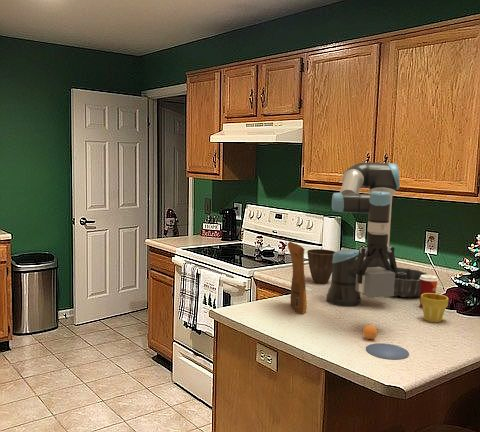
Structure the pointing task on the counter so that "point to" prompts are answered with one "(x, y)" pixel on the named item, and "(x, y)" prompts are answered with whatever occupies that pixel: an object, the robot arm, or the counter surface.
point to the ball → (370, 332)
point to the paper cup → (427, 285)
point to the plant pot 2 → (433, 306)
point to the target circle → (387, 351)
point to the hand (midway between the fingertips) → (374, 291)
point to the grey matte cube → (377, 282)
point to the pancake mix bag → (298, 279)
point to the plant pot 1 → (320, 264)
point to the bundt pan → (407, 282)
